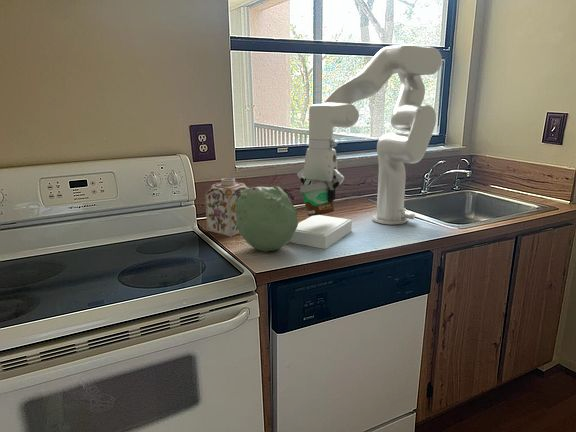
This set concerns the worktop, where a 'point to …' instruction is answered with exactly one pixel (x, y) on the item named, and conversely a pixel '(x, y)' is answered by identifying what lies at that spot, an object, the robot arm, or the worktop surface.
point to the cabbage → (265, 217)
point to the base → (321, 231)
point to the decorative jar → (223, 206)
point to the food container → (317, 199)
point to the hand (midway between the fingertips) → (319, 199)
